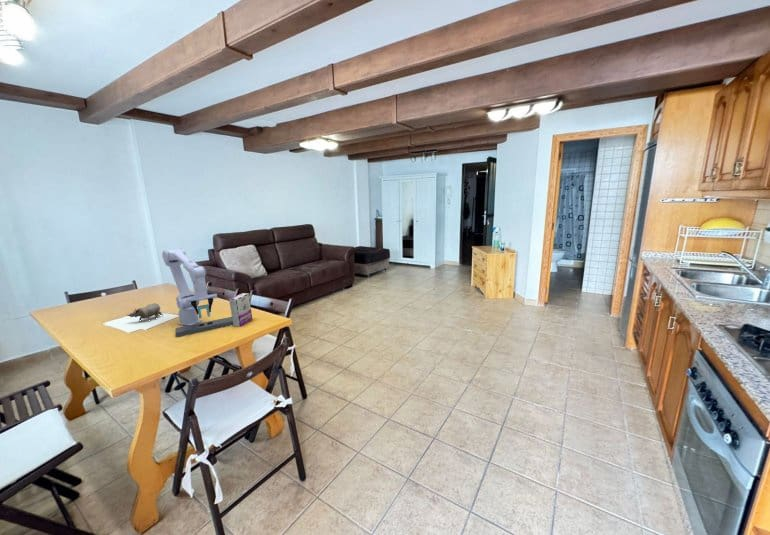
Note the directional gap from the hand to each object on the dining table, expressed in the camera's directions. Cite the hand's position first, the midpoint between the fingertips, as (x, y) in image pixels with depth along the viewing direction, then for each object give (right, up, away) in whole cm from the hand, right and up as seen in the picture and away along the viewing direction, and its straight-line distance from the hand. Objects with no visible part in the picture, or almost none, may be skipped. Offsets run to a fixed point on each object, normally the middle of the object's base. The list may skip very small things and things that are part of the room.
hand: (204, 312), depth 164 cm
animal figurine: (-44, -7, +16) cm, 48 cm away
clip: (0, -2, 0) cm, 2 cm away
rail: (0, -9, +2) cm, 9 cm away
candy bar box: (+17, -7, +9) cm, 21 cm away
